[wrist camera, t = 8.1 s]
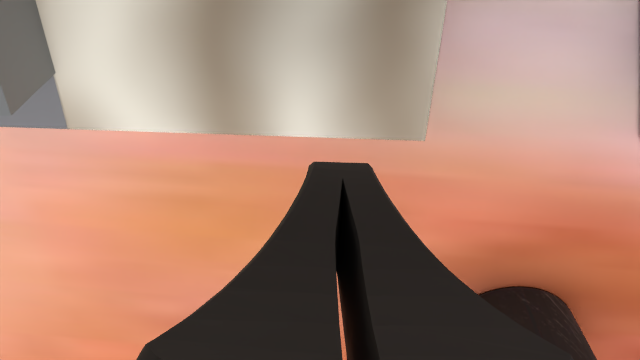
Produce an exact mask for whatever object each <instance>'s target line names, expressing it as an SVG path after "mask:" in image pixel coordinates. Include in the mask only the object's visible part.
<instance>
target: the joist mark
mask: <svg viewBox="0 0 640 360" xmlns="http://www.w3.org/2000/svg"><path fill="white" fill-rule="evenodd" d="M54 77H55V76H52V77H51V78H50V79H49V80H48V81H47V82H46V83H45V84H44V85H43V86H42V87H41V88H40V89H39V90H38V91H37V92H35V93H34V94H33V95H32V96H31V97H30V98H29V99H28V100H27V101H26V102H25V103H24V104H23V105H22V106H21V107H20V108H19V109H18V110H17V111H16V112H15V113H14V114H13V115H12V116H0V127H25V128H56V129H68V128H67V124H66V123H67V122H66V120H65V117H64V113H63V112H64V111H63V109H64V108H63V109H62V106H63V105H62V106H61V102H60V101H61V100H60V98H59V94H58V91H57V85H56V84H57V83H55V81H56V79H54Z"/></svg>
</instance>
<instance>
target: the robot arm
mask: <svg viewBox="0 0 640 360" xmlns="http://www.w3.org/2000/svg"><path fill="white" fill-rule="evenodd" d="M336 273H337V276H338V285H339V294H340V302H341V311H342V319H343V327H344V336H345V344H346V353H347V360H574V359H573V358H572V356H571V355H570V354H568V353H567V352H565V351H563V350H562V349H560V348H558V347H556V346H555V345H553V344H551V343H550V342H548V341H546V340H544V339H543V338H541V337H539V336H538V335H536V334H534V333H532V332H531V331H529V330H527V329H526V328H524V327H522V326H521V325H519V324H518V323H516V322H515V321H513V320H512V319H511V318H509V317H508V316H506V315H505V314H503V313H502V312H500V311H499V310H497V309H496V308H495V307H493V306H492V305H491V304H489V303H488V302H486V301H485V300H484V299H482V298H481V297H480V296H479V295H478V294H476V293H475V292H474V291H473V290H471V289H470V288H469V287H468V286H467V285H465V284H464V283H463V282H462V281H460V280H459V279H458V278H457V277H456V276H455V275H454V274H452V273H451V272H450V271H449V270H448V269H447V268H446V267H445V266H444V265H443V264H442V263H441V262H440V261H439V260H438V259H437V258H436V257H435V256H434V255H433V254H432V253H431V251H430V250H429V249H428V248H427V247H426V246H425V245H424V244H423V242H422V241H421V240H420V239H419V238H418V236H417V235H416V234H415V233H414V232H413V230H412V229H411V228H410V226H409V225H408V224H407V223H406V221H405V220H404V219H403V217H402V216H401V214H400V213H399V211H398V210H397V209H396V207H395V206H394V204H393V203H392V201H391V200H390V198H389V197H388V195H387V194H386V192H385V190H384V189H383V187H382V186H381V184H380V182H379V180H378V178H377V177H376V175H375V173H374V171H373V169H372V167H371V166H370V165H369V164H368V163H338V162H313V163H312V164H311V165H310V166H309V168H308V172H307V175H306V178H305V180H304V183H303V185H302V187H301V189H300V191H299V193H298V195H297V197H296V198H295V200H294V202H293V204H292V205H291V207H290V209H289V211H288V212H287V214H286V215H285V217H284V218H283V220H282V221H281V223H280V224H279V226H278V227H277V229H276V230H275V231H274V233H273V234H272V236H271V237H270V238H269V240H268V241H267V242H266V243H265V245H264V246H263V247H262V248H261V250H260V251H259V252H258V253H257V254H256V255H255V257H254V258H253V259H252V260H251V261H250V262H249V263H248V264H247V265H246V266H245V267H244V268H243V269H242V270H241V271H240V272H239V274H238V275H237V276H236V277H235V278H234V279H233V280H232V281H230V282H229V283H228V284H227V285H226V286H225V287H224V288H223V289H222V290H221V291H220V292H218V293H217V294H216V295H215V296H213V297H212V298H211V299H210V300H209V301H207V302H206V303H205V304H204V305H202V306H201V307H200V308H199V309H197V310H196V311H195V312H194V313H193V314H191V315H190V316H188V317H187V318H186V319H184V320H183V321H182V322H180V323H178V324H177V325H175V326H174V327H172V328H171V329H169V330H168V331H166V332H165V333H163V334H162V335H160V336H159V337H157V338H156V339H154V340H152V341H150V342H149V343H147V344H146V345H145V346H144V348H143V349H142V351H141V353H140V354H139V356H138V358H137V360H342V350H341V338H340V327H339V312H338V298H337V279H336Z"/></svg>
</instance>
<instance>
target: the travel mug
mask: <svg viewBox="0 0 640 360" xmlns="http://www.w3.org/2000/svg"><path fill="white" fill-rule="evenodd" d="M479 296H480V297H481V298H482V299H484V300H485V301H486V302H488V303H489V304H491V305H492V306H493V307H495V308H496V309H497V310H499V311H500V312H502V313H503V314H505V315H506V316H508V317H509V318H511V319H512V320H513V321H515V322H516V323H518V324H519V325H521V326H522V327H524V328H526V329H527V330H529V331H531V332H532V333H534V334H536V335H538V336H539V337H541V338H543V339H544V340H546V341H548V342H550V343H551V344H553V345H555V346H556V347H558V348H560V349H562V350H563V351H565V352H567V353H568V354H570V355H571V356H572V358H573V359H574V360H597V359H596V357H595V355H594V354H593V352H592V350H591V348H590V346H589V344H588V342H587V340H586V338H585V336H584V335H583V333H582V331H581V329H580V327H579V325H578V324H577V322H576V320H575V318H574V316H573V315H572V313H571V311H570V310H569V308H568V307H567V306H566V304H565V303H564V302H563V301H561V300H560V299H559V298H558V297H556V296H554V295H553V294H551V293H548V292H546V291H543V290H539V289H535V288H528V287H510V288H502V289H497V290H493V291H490V292H486V293H484V294H481V295H479Z"/></svg>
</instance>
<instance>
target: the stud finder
mask: <svg viewBox="0 0 640 360" xmlns="http://www.w3.org/2000/svg"><path fill="white" fill-rule="evenodd" d="M54 74H55V69H54V65H53V62H52V58H51V55H50V51H49V47H48V44H47V40H46V36H45V33H44V29H43V26H42V22H41V18H40V15H39V11H38V8H37V4H36V0H0V116H12V115H13V114H14V113H15V112H16V111H17V110H18V109H19V108H20V107H21V106H22V105H23V104H24V103H25V102H26V101H27V100H28V99H29V98H30V97H31V96H32V95H33V94H34V93H35V92H37V91H38V90H39V89H40V88H41V87H42V86H43V85H44V84H45V83H46V82H47V81H48V80H49V79H50V78H51V77H52V76H53V75H54Z"/></svg>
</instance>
